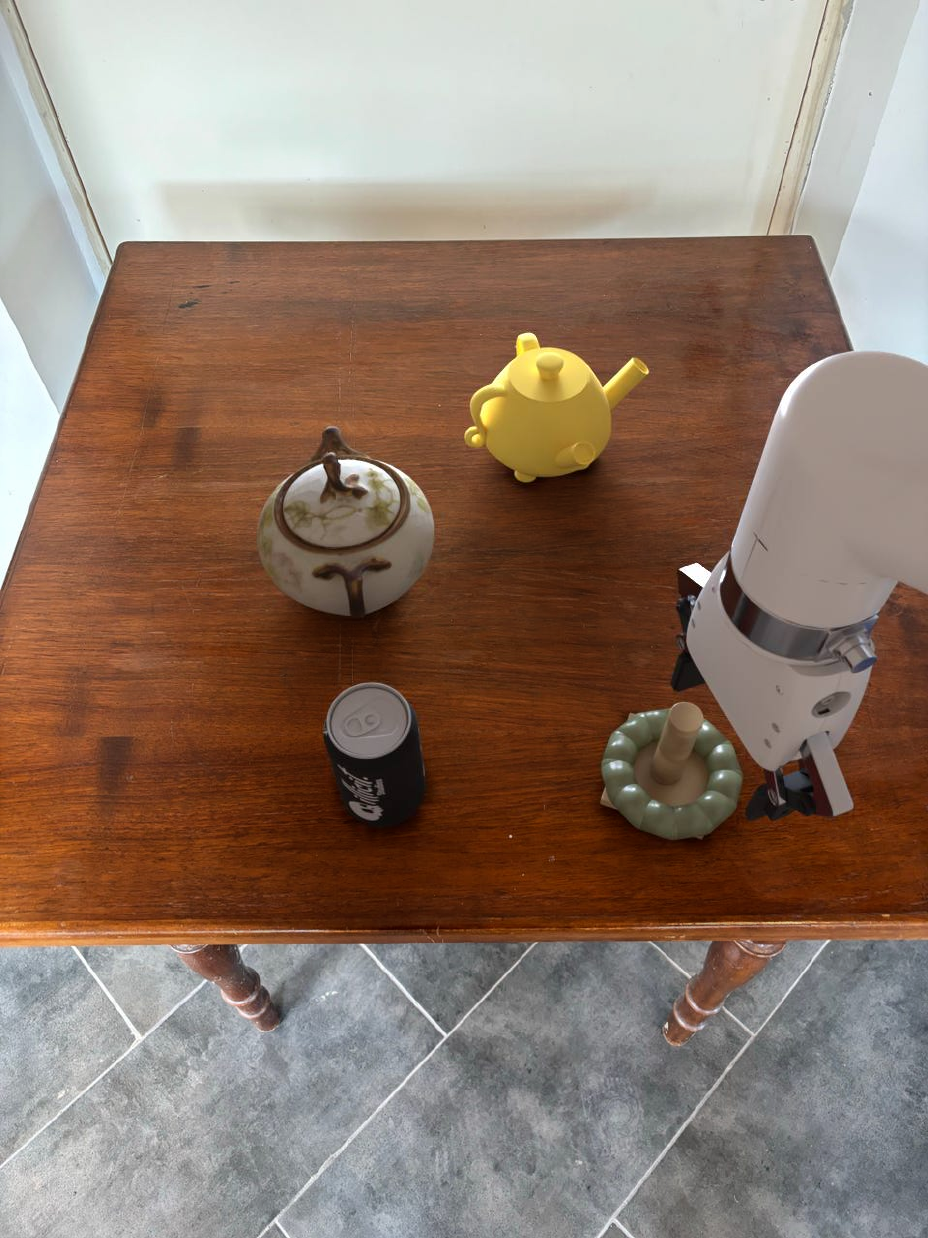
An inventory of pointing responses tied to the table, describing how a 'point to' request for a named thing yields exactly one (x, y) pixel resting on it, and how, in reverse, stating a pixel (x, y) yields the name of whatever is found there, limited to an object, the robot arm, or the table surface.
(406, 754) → the beverage can
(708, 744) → the ring
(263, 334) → the table surface
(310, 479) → the sugar bowl
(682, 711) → the square base peg stand
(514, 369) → the teapot
